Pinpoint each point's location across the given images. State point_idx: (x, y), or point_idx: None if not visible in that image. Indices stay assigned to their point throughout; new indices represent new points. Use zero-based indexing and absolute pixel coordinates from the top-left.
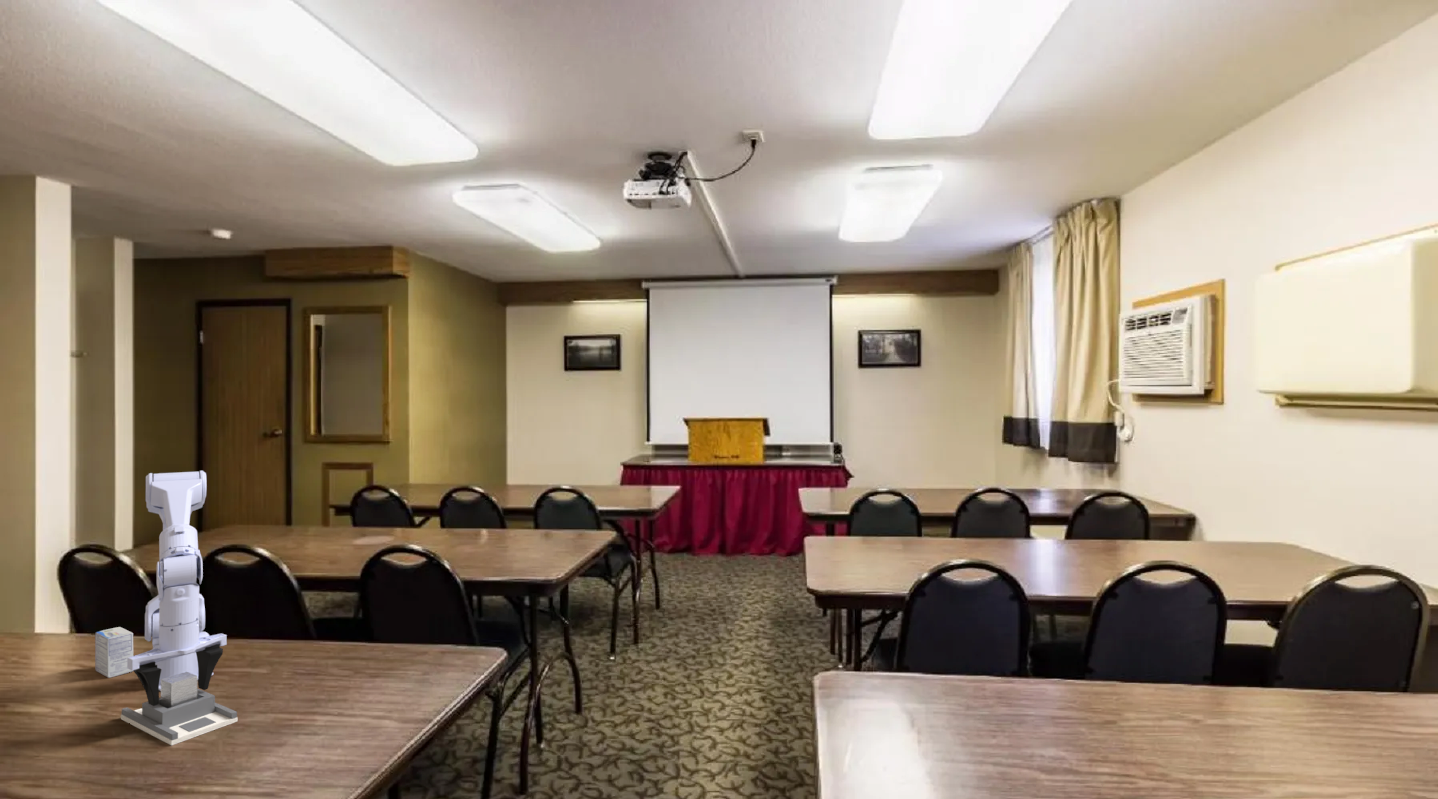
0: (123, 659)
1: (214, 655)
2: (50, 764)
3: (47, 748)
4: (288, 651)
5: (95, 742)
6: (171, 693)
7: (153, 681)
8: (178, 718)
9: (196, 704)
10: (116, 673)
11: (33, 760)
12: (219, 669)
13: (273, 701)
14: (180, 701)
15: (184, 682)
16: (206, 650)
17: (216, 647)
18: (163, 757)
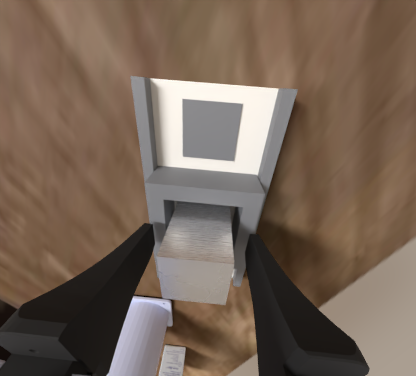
0: (169, 367)
1: (53, 313)
2: (385, 220)
3: (333, 267)
4: (15, 285)
5: (306, 236)
6: (231, 237)
7: (294, 297)
8: (227, 178)
9: (189, 182)
10: (178, 349)
11: (371, 250)
12: None
13: (50, 119)
14: (210, 215)
15: (196, 251)
16: (68, 365)
17: (21, 362)
18: (350, 22)
